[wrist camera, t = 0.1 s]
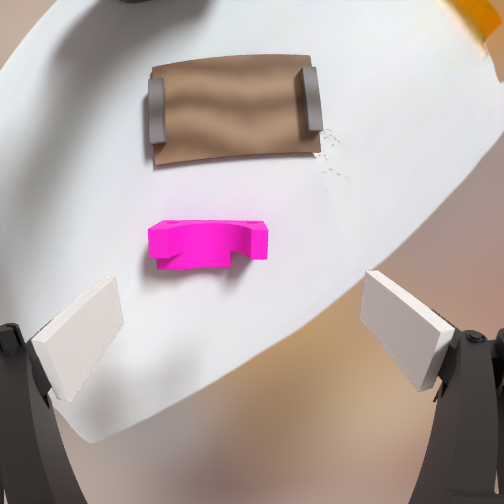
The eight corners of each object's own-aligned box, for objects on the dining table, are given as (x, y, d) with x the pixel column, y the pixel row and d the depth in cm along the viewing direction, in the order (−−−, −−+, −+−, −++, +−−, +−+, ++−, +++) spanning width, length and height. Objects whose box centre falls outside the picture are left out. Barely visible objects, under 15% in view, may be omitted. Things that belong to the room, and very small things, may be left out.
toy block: (165, 260, 42) (151, 276, 34) (163, 220, 40) (147, 229, 33) (261, 261, 42) (266, 278, 35) (262, 220, 41) (268, 229, 34)
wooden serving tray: (154, 69, 33) (148, 62, 31) (308, 57, 34) (313, 50, 31) (157, 165, 38) (151, 164, 35) (318, 152, 38) (325, 150, 35)
